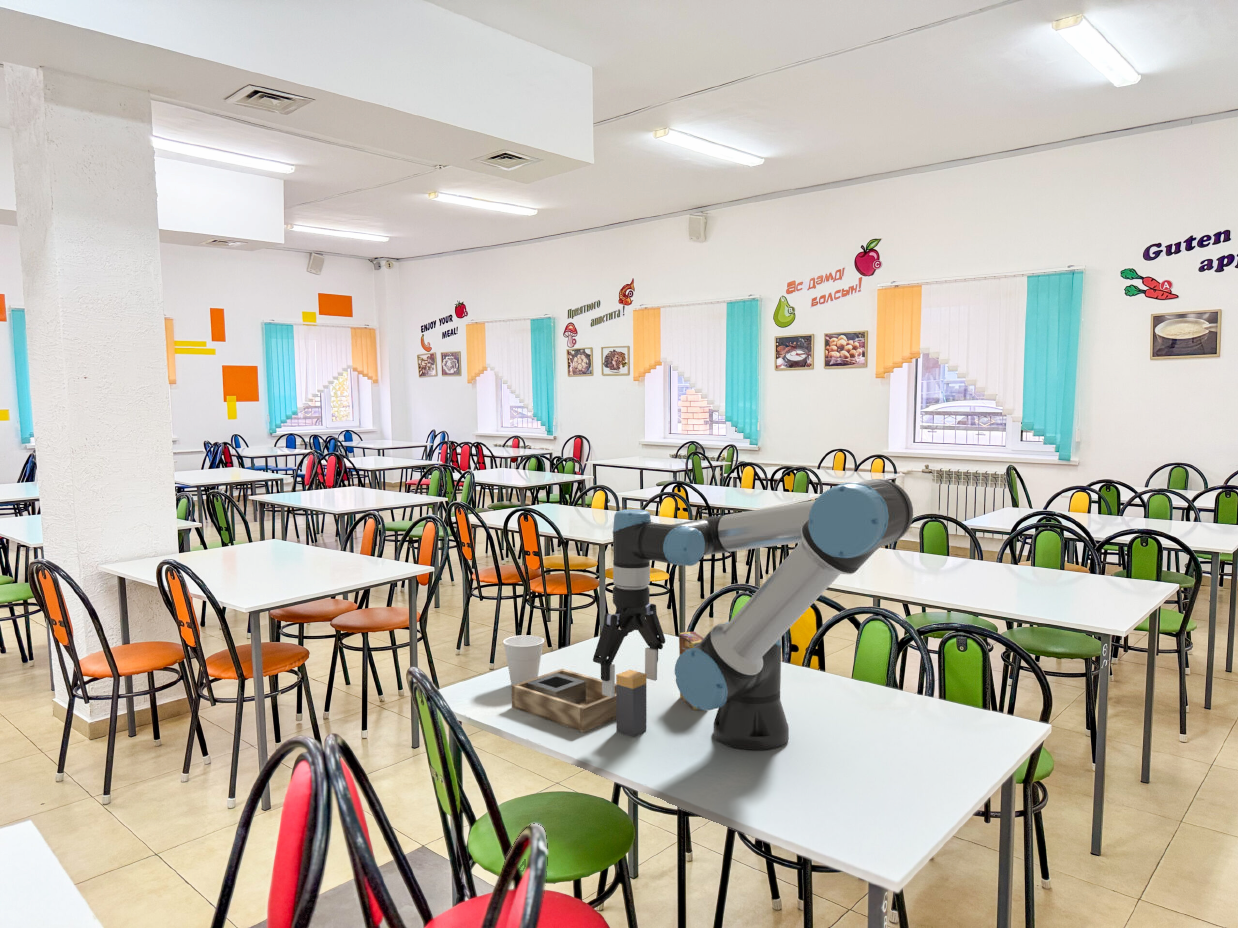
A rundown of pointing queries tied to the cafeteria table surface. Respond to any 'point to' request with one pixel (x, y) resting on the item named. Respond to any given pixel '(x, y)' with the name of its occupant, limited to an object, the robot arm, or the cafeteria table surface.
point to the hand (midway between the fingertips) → (630, 687)
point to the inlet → (560, 687)
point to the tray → (567, 704)
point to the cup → (523, 657)
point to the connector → (631, 703)
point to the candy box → (685, 643)
